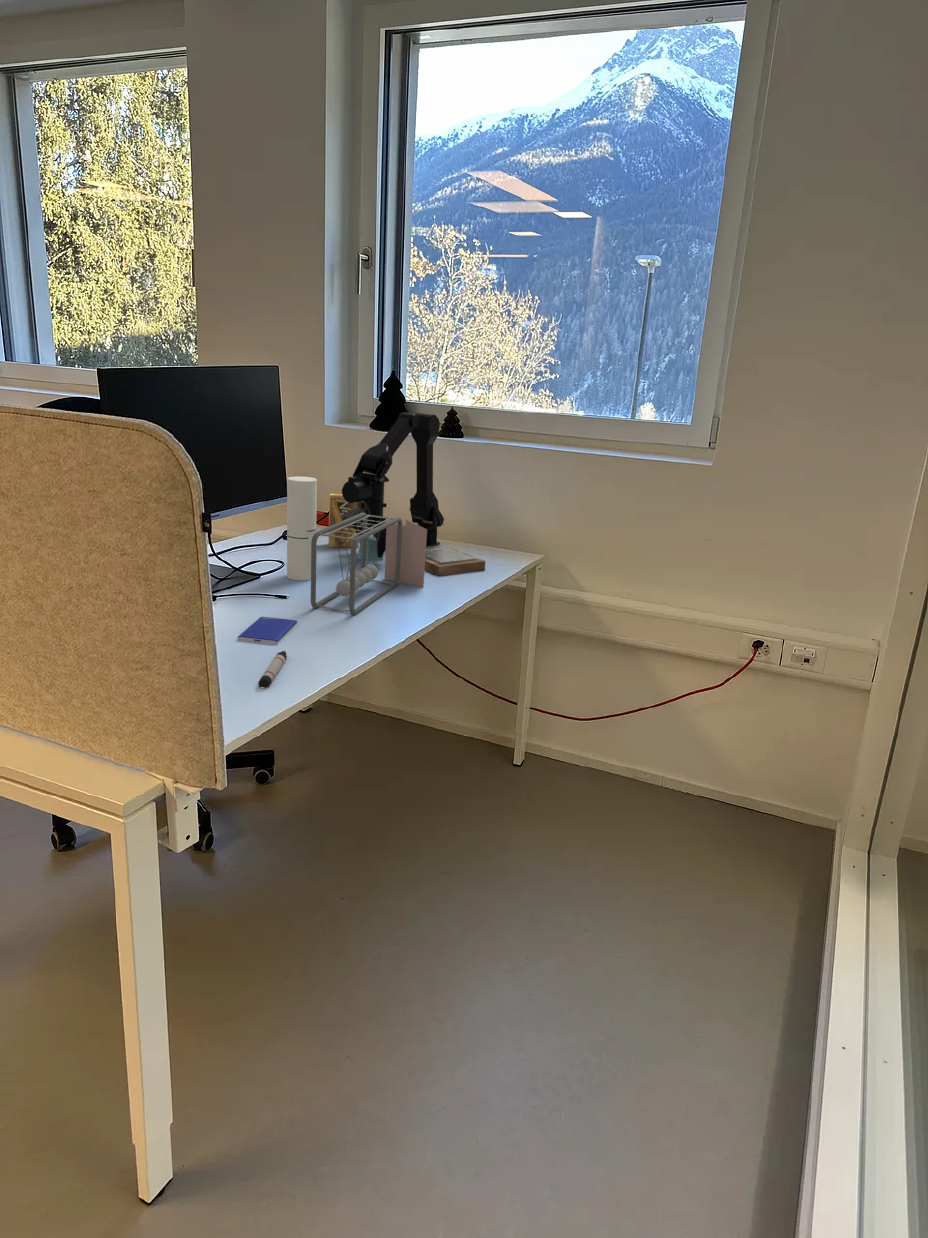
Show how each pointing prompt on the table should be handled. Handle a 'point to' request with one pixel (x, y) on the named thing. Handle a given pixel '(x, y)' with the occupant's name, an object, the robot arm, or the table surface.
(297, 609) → the table surface
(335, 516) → the candy box
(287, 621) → the hard drive
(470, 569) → the podium
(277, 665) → the marker
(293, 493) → the cylindrical container
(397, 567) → the newton's cradle
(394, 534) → the greeting card
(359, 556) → the teal rectangular block
